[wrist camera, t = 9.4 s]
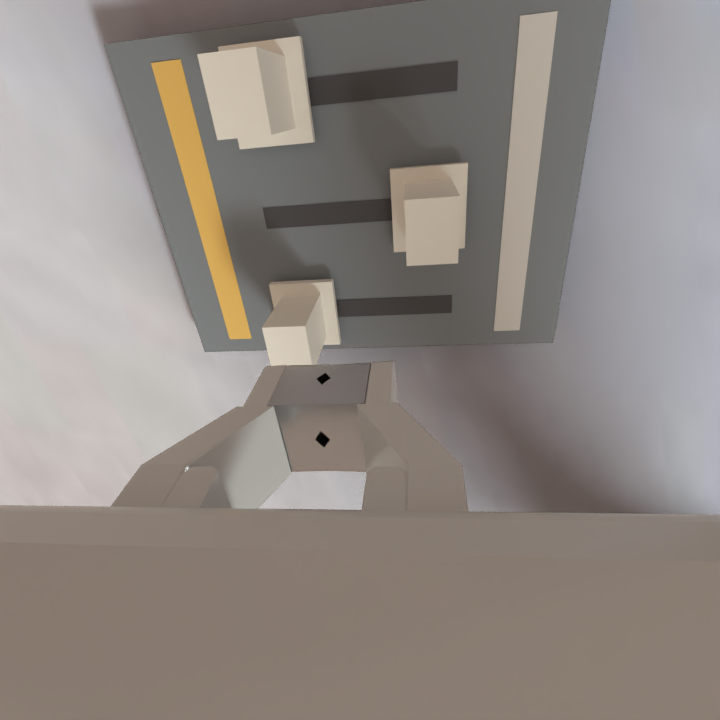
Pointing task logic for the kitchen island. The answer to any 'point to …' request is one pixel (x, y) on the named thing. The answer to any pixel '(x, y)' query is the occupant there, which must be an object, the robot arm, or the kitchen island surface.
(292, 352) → the switch far
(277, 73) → the switch near
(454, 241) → the switch mid
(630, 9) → the kitchen island surface
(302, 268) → the switch board
